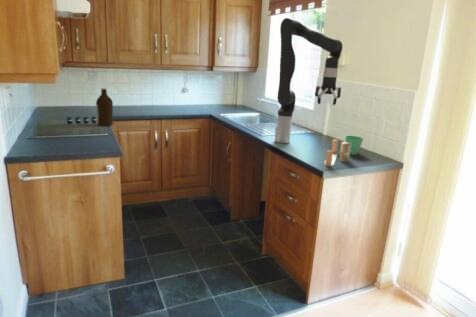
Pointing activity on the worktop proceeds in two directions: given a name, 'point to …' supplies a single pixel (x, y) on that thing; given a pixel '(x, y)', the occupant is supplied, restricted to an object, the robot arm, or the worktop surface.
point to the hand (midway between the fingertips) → (326, 104)
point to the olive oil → (104, 109)
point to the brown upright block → (345, 151)
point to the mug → (354, 143)
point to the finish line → (331, 154)
